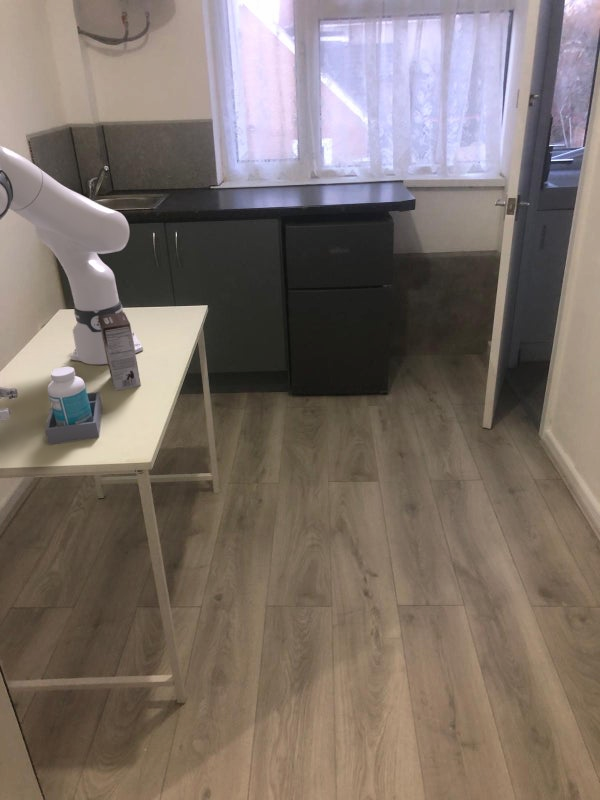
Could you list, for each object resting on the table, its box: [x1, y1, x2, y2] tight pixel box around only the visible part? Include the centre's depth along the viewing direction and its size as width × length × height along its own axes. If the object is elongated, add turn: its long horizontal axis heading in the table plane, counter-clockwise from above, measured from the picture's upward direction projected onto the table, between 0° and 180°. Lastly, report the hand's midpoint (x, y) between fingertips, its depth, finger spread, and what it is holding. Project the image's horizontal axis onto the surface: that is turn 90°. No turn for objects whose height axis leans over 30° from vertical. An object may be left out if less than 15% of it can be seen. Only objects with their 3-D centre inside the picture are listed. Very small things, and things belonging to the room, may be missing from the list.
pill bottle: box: [47, 366, 94, 427], centre depth 135 cm, size 8×7×14 cm
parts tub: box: [44, 391, 103, 445], centre depth 139 cm, size 15×10×4 cm, turn 13°
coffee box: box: [98, 311, 142, 391], centre depth 155 cm, size 9×6×16 cm
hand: (13, 402), depth 133 cm, fingers open, 8 cm apart
